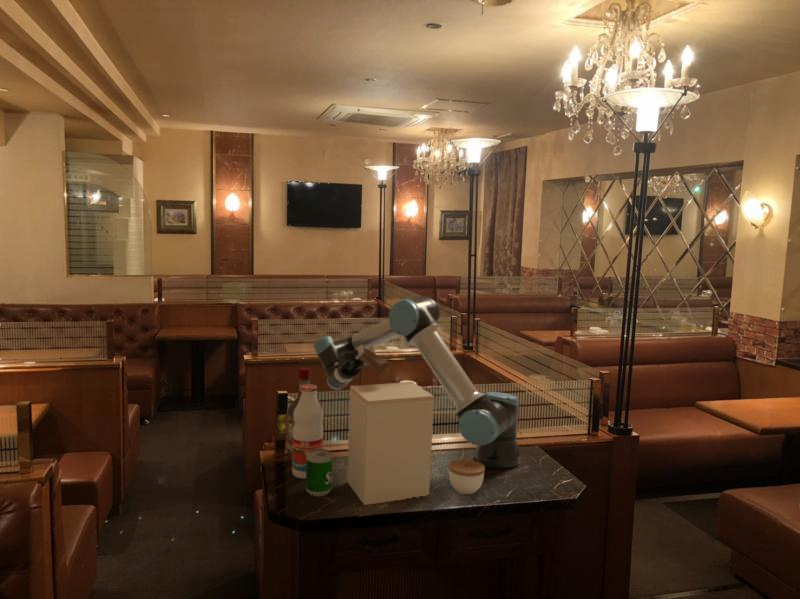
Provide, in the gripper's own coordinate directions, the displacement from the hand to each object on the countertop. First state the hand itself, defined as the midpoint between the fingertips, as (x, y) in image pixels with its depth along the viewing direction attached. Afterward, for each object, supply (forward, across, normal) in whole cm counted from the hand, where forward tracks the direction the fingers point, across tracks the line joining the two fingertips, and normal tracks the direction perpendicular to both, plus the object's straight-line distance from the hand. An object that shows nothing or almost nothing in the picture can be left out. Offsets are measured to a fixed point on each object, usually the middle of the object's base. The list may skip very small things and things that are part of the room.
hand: (367, 348), depth 197 cm
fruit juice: (-18, +19, -34) cm, 43 cm away
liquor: (-30, +17, -27) cm, 44 cm away
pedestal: (-2, -1, -43) cm, 43 cm away
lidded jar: (+5, -23, -48) cm, 53 cm away
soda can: (-6, +19, -41) cm, 46 cm away
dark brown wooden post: (+1, 0, -5) cm, 5 cm away
